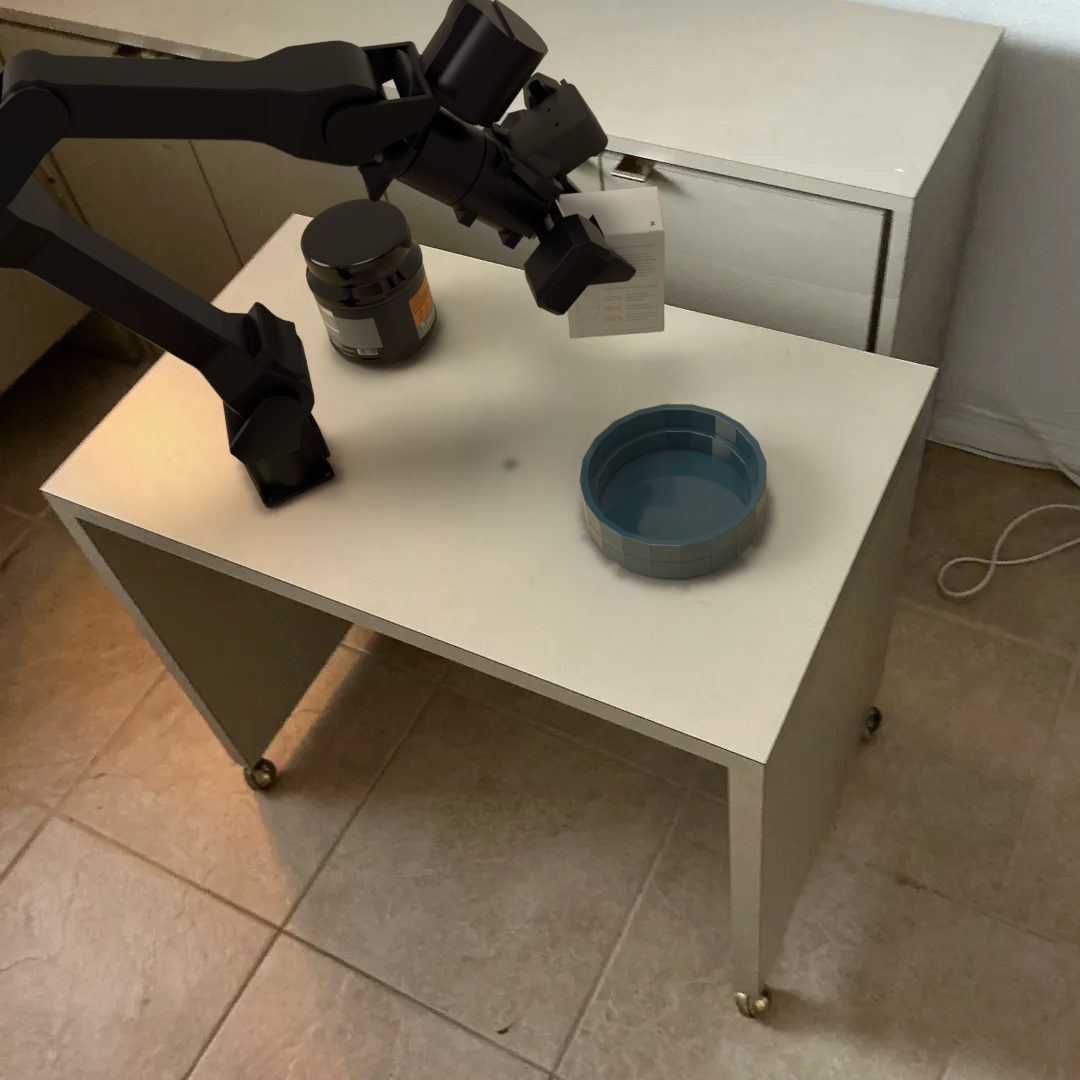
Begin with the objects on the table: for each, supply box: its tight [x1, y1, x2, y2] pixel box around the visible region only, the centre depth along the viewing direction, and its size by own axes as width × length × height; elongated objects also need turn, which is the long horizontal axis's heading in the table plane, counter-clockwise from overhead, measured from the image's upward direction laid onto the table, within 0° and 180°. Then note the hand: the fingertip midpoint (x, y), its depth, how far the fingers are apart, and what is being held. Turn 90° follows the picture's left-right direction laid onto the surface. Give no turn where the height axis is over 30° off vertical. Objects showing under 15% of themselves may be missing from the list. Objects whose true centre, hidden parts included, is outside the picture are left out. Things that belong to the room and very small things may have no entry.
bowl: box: [579, 403, 768, 579], centre depth 88 cm, size 14×14×4 cm
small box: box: [559, 185, 666, 340], centre depth 90 cm, size 8×6×10 cm
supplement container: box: [299, 197, 439, 368], centre depth 102 cm, size 10×10×12 cm
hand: (619, 250), depth 89 cm, fingers closed on small box, 6 cm apart
